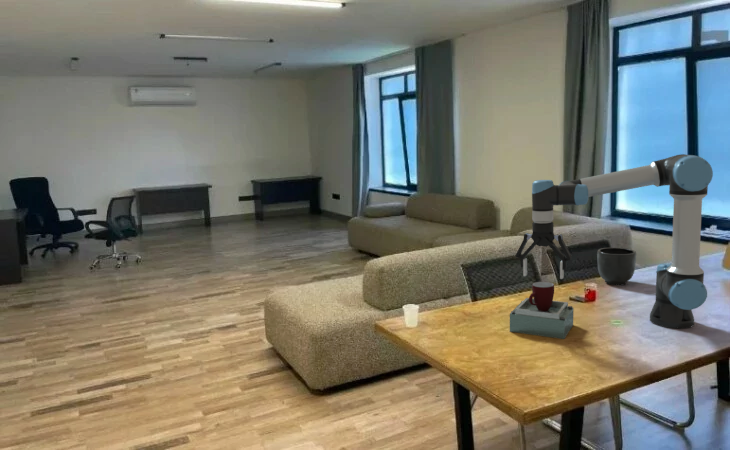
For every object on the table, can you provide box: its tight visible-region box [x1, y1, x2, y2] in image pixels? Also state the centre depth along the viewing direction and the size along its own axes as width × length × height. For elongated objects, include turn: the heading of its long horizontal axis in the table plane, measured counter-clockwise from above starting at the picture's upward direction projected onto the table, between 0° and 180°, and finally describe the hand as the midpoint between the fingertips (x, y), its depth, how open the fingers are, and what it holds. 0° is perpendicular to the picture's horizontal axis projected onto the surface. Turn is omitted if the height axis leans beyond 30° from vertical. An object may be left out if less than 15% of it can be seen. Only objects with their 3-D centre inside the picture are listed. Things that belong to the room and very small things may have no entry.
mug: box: [528, 281, 555, 311], centre depth 217 cm, size 11×8×10 cm
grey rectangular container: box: [509, 297, 575, 340], centre depth 218 cm, size 20×17×9 cm
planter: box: [596, 247, 637, 286], centre depth 275 cm, size 17×17×16 cm
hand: (543, 276), depth 215 cm, fingers open, 13 cm apart
